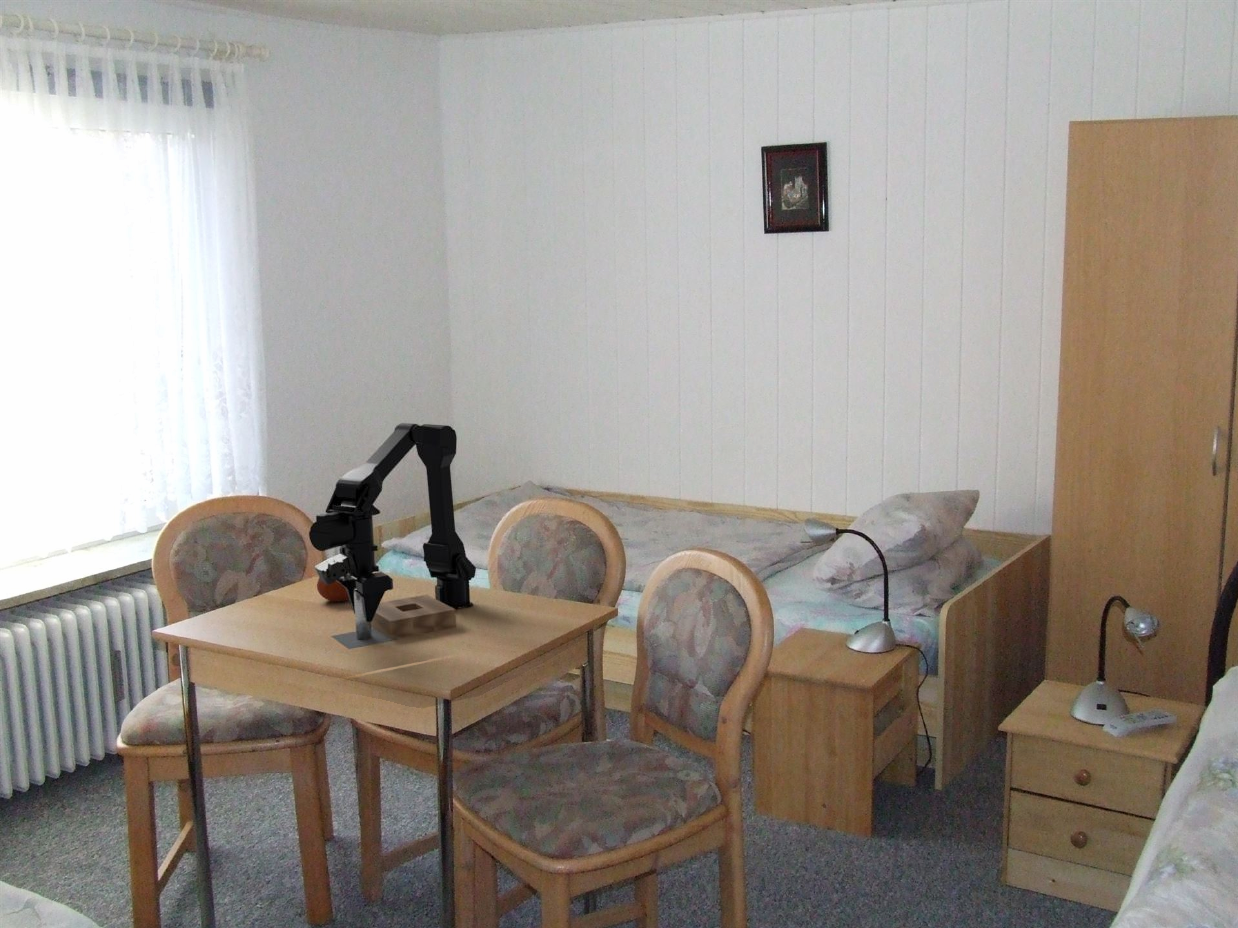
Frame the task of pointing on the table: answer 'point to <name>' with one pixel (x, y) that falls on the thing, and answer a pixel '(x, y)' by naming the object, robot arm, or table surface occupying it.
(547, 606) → the table surface
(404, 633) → the hole block
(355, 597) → the peg
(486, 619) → the table surface
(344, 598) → the fruit
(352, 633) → the panel
